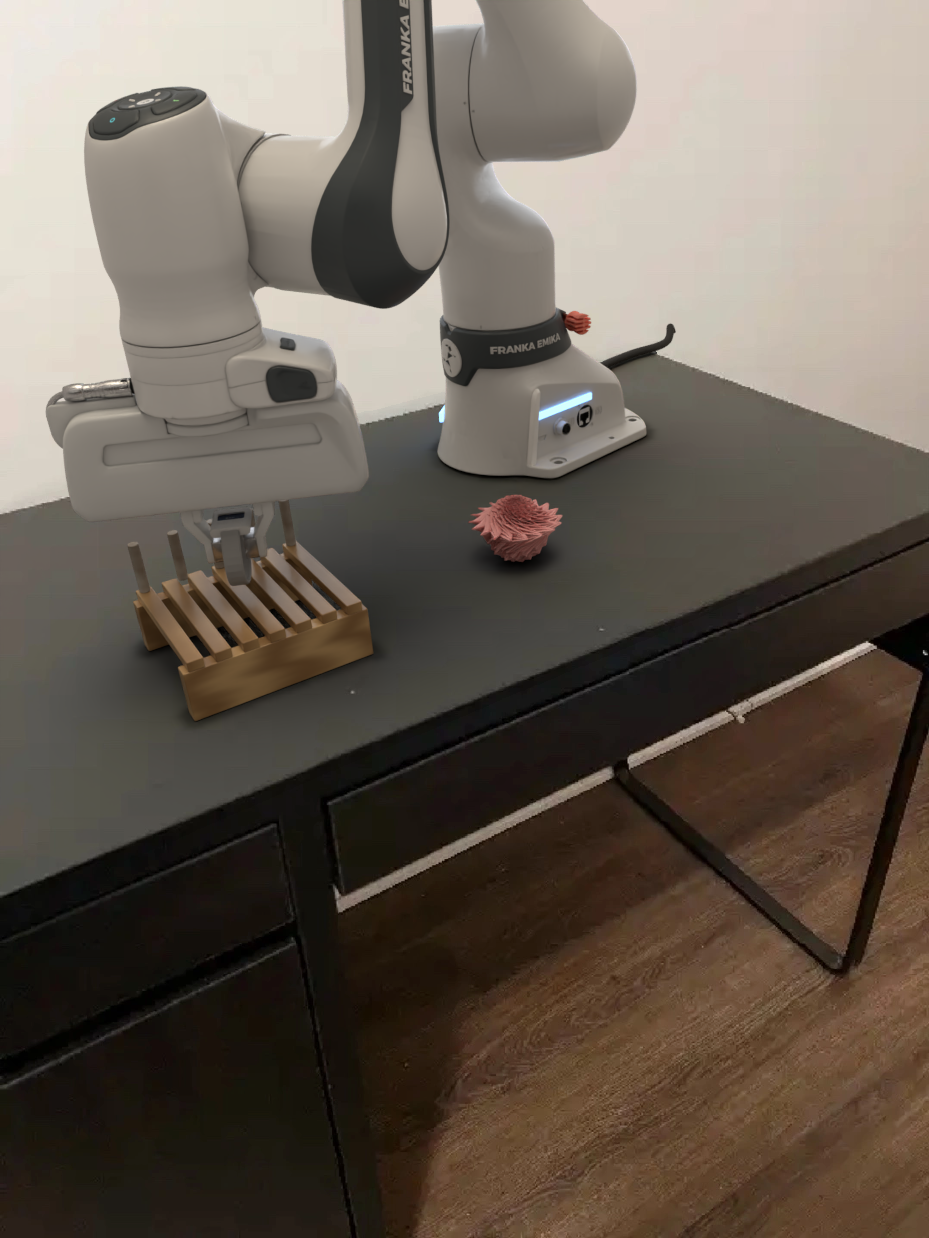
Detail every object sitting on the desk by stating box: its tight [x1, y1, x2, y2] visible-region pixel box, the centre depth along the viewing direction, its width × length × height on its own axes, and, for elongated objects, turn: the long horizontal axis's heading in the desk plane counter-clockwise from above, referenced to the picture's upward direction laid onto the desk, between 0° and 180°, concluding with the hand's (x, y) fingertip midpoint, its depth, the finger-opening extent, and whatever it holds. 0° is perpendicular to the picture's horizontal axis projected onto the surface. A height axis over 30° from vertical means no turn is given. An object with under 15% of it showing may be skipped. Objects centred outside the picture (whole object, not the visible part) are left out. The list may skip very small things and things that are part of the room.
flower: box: [467, 494, 563, 563], centre depth 87 cm, size 8×8×6 cm
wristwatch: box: [210, 506, 253, 586], centre depth 74 cm, size 6×3×5 cm, turn 8°
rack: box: [126, 500, 374, 722], centre depth 76 cm, size 14×12×9 cm
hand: (238, 556), depth 74 cm, fingers closed on wristwatch
